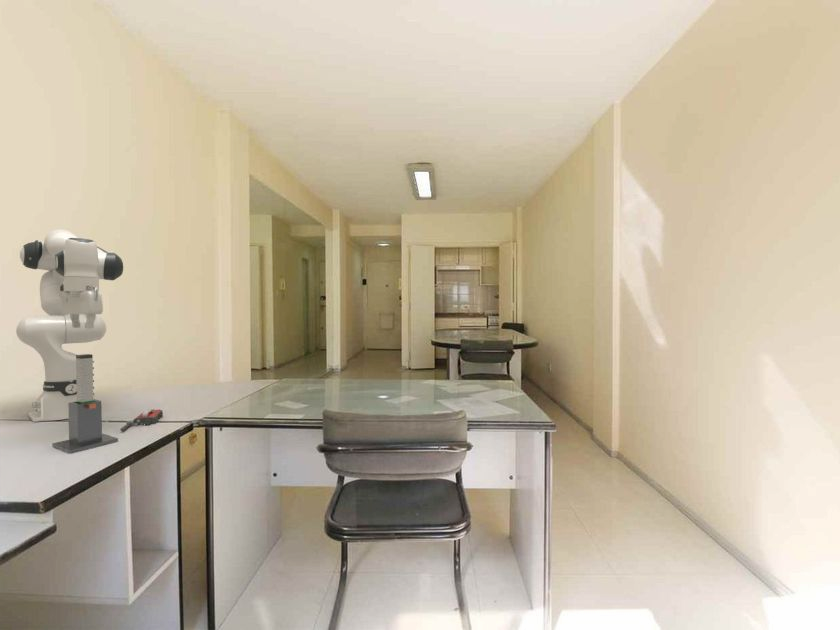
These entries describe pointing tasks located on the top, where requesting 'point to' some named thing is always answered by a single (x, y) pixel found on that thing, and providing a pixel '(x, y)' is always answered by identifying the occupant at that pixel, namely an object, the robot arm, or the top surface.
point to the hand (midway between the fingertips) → (82, 328)
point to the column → (84, 378)
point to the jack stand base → (84, 428)
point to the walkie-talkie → (144, 418)
